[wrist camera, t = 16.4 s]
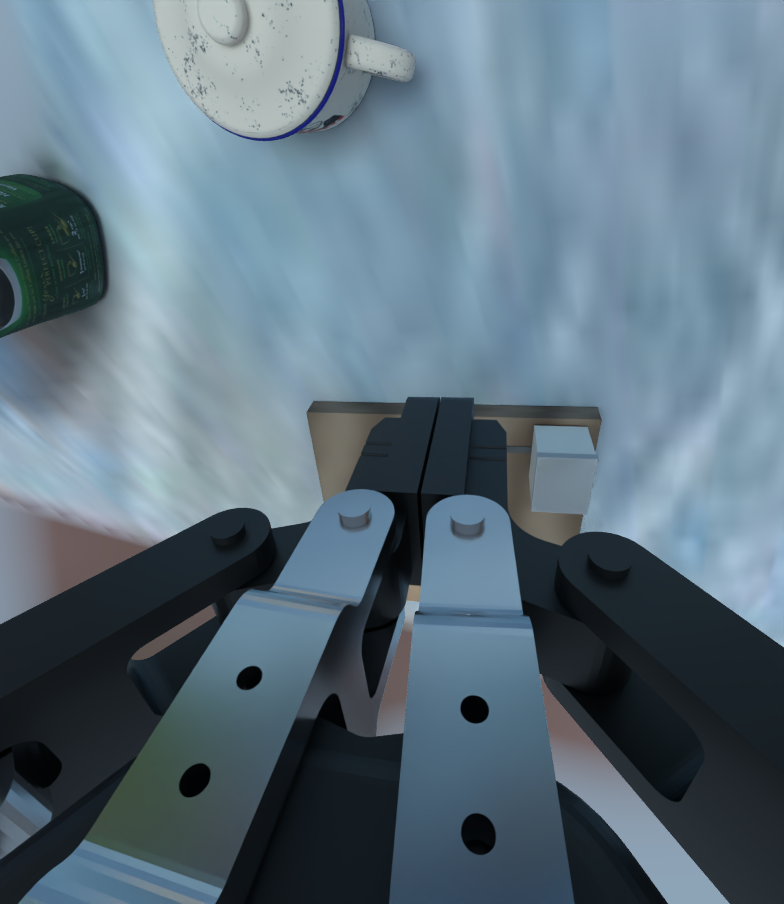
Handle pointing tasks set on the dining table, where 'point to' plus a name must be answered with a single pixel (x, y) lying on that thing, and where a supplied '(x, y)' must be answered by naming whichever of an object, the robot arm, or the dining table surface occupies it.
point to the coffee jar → (45, 253)
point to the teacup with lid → (276, 61)
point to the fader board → (349, 423)
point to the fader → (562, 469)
